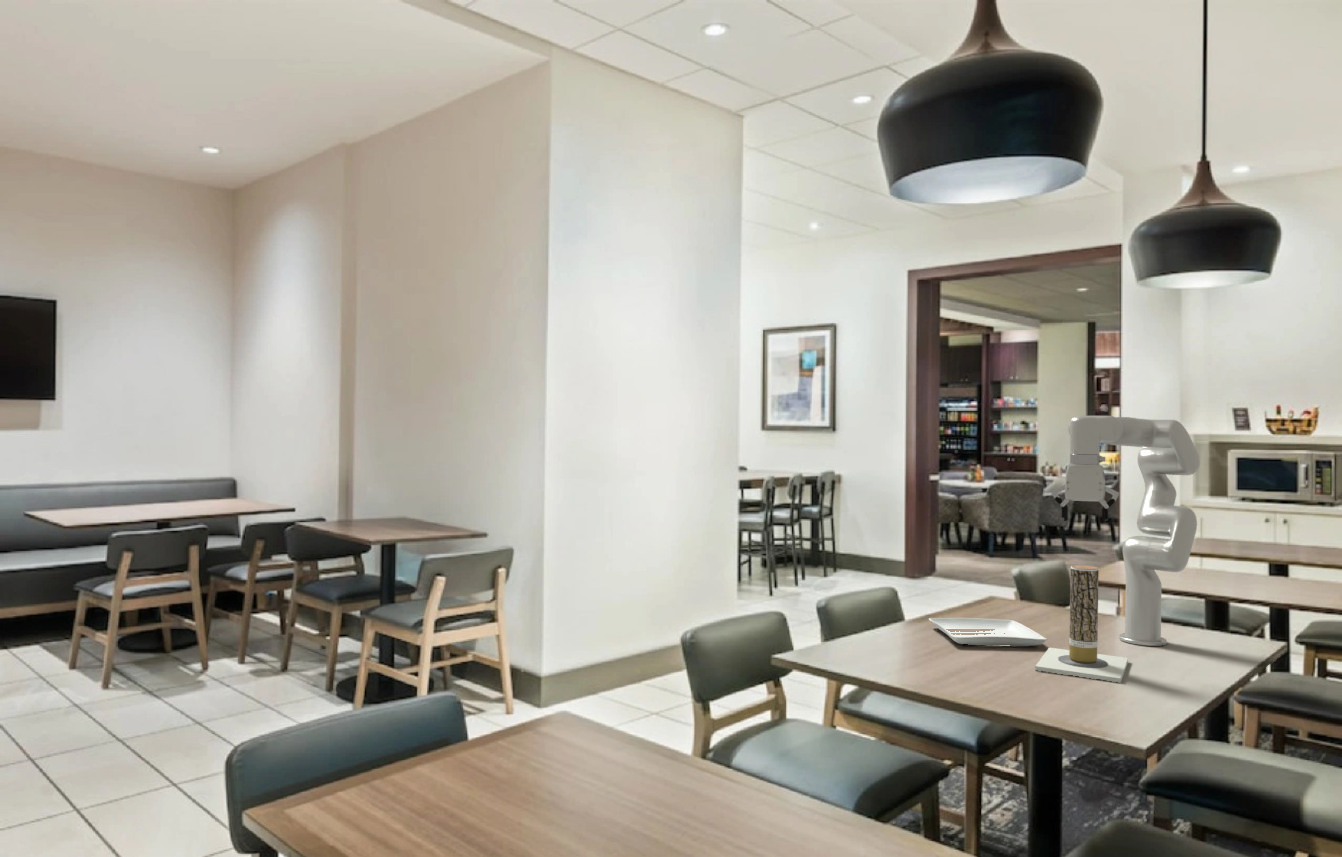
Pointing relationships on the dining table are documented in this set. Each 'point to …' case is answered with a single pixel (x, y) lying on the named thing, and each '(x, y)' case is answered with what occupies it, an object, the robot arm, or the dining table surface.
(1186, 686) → the dining table surface
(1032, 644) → the square plate
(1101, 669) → the seat board
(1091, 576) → the paper tube
